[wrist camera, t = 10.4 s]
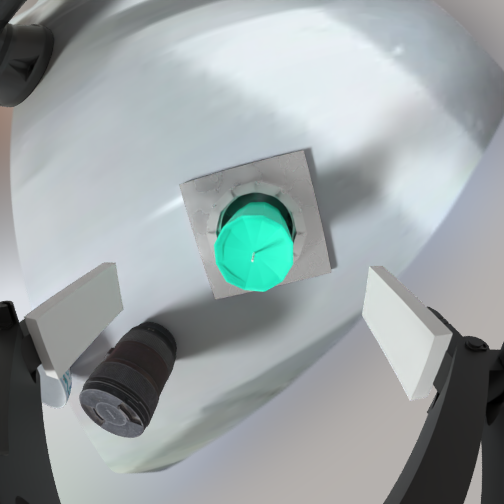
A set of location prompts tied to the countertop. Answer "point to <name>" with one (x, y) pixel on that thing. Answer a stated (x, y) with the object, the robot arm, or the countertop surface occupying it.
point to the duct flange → (259, 190)
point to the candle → (254, 248)
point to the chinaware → (55, 388)
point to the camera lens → (130, 380)
